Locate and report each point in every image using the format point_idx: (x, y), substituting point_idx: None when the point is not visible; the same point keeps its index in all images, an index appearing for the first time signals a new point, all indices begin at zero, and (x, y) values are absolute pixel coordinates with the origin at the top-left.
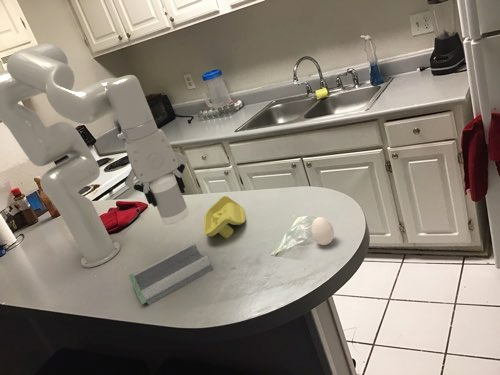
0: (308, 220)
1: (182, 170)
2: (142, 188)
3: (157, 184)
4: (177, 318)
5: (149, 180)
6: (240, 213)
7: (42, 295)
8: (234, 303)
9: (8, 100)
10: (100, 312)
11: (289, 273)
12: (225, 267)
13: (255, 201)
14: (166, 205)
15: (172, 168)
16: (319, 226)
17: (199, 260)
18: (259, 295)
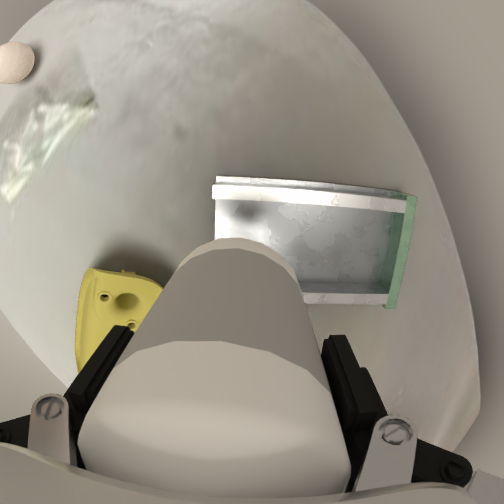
0: (4, 170)
1: (18, 423)
2: (411, 461)
3: (294, 430)
4: (361, 82)
5: (386, 499)
6: (81, 330)
7: (459, 396)
8: (245, 18)
9: None
10: (452, 266)
11: (115, 23)
12: (192, 153)
13: (51, 345)
14: (275, 290)
15: (14, 469)
16: (6, 45)
17: (238, 192)
18: (194, 3)
